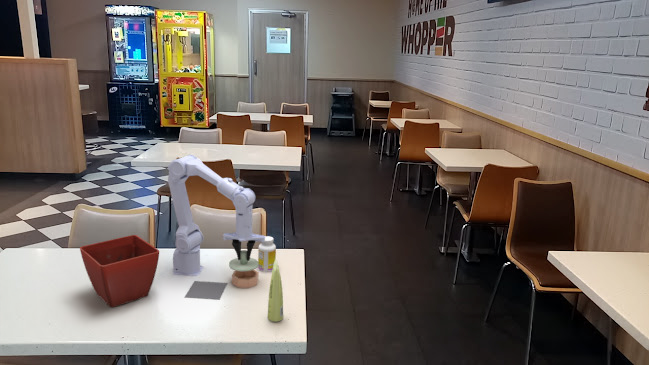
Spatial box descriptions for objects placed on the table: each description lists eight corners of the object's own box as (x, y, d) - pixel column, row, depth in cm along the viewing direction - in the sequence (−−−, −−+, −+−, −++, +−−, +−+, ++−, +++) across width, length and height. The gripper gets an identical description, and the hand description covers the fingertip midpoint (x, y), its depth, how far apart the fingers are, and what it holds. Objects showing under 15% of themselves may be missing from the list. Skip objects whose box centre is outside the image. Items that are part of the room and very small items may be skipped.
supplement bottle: (277, 266, 193) (277, 235, 189) (273, 273, 186) (274, 242, 183) (260, 264, 193) (260, 234, 190) (256, 272, 187) (256, 241, 183)
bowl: (230, 287, 174) (230, 278, 173) (235, 276, 183) (235, 267, 182) (255, 289, 174) (255, 280, 173) (259, 277, 182) (259, 269, 182)
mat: (184, 298, 165) (184, 297, 165) (194, 282, 177) (194, 280, 177) (219, 301, 165) (219, 299, 165) (227, 284, 177) (227, 282, 176)
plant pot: (137, 276, 179) (135, 233, 174) (162, 296, 166) (160, 250, 161) (82, 292, 166) (78, 246, 161) (105, 316, 153) (101, 266, 148)
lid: (225, 269, 171) (225, 256, 170) (233, 258, 181) (233, 245, 180) (254, 272, 170) (254, 258, 169) (261, 260, 180) (261, 247, 179)
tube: (262, 317, 157) (263, 261, 151) (274, 311, 160) (275, 256, 155) (275, 324, 153) (276, 267, 148) (286, 318, 157) (288, 262, 152)
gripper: (220, 226, 168) (221, 262, 172) (262, 229, 168) (262, 265, 171) (225, 219, 175) (225, 254, 179) (266, 221, 174) (265, 256, 178)
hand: (244, 259), depth 175 cm, fingers closed on lid, 3 cm apart
